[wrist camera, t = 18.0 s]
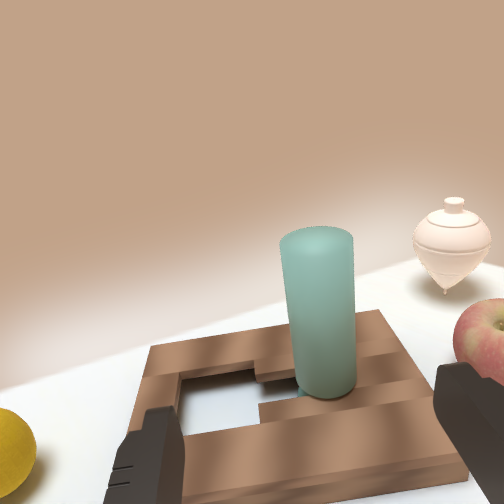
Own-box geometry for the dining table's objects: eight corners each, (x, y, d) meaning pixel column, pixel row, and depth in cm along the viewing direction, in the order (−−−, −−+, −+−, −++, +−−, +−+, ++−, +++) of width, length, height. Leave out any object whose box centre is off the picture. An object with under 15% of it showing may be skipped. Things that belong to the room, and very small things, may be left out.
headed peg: (305, 434, 30) (285, 262, 23) (295, 387, 34) (275, 232, 27) (366, 424, 30) (363, 250, 23) (347, 379, 34) (340, 222, 27)
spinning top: (396, 293, 46) (399, 201, 40) (437, 271, 48) (444, 184, 43) (454, 322, 39) (466, 218, 34) (496, 295, 42) (514, 196, 37)
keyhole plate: (120, 536, 25) (105, 508, 24) (158, 369, 39) (150, 345, 38) (467, 480, 25) (472, 449, 24) (378, 333, 39) (378, 309, 38)
